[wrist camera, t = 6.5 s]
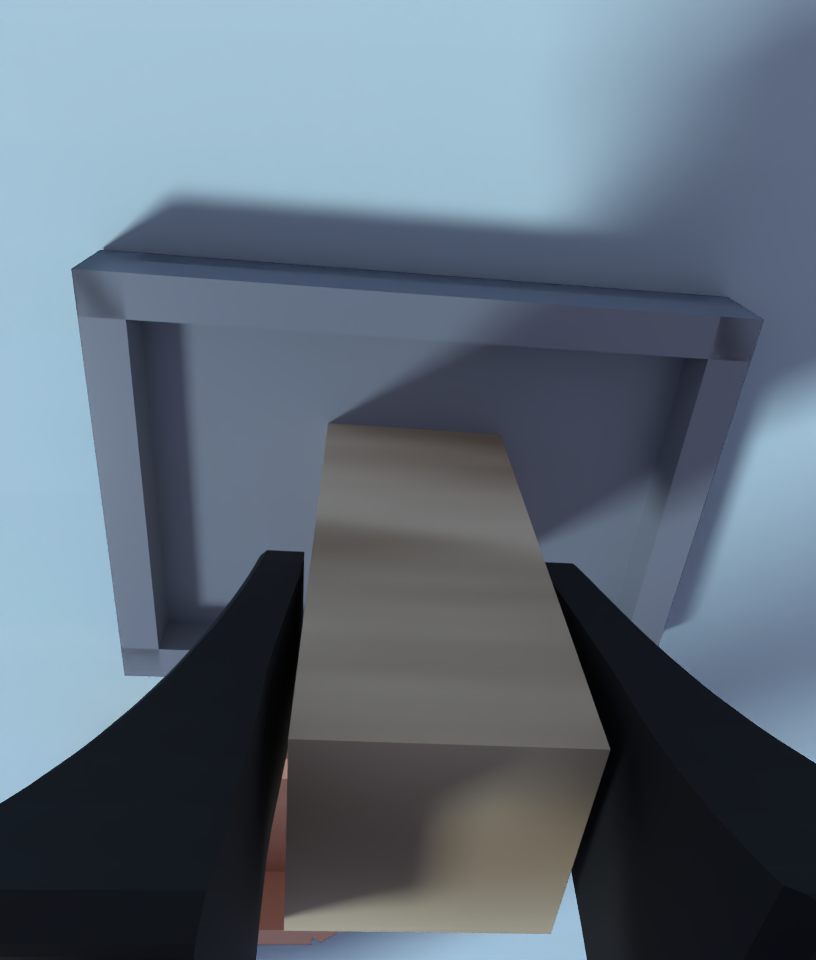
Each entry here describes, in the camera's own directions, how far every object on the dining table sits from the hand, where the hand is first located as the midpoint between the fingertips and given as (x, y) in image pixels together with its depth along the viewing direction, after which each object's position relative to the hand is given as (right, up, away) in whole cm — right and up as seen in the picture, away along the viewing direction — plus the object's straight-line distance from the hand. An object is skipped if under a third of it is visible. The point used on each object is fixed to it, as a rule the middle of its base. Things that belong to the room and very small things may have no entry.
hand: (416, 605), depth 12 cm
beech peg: (0, +2, +3) cm, 4 cm away
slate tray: (0, +2, +4) cm, 4 cm away
